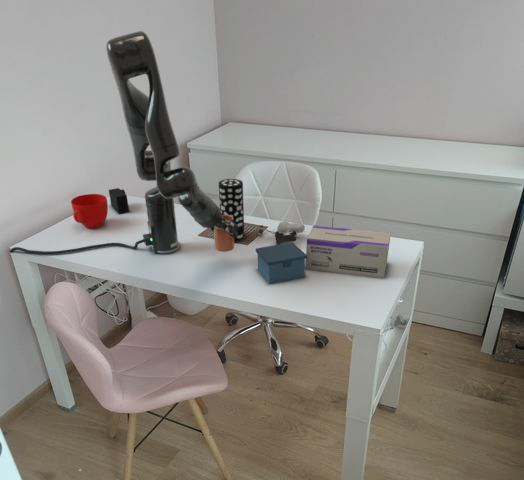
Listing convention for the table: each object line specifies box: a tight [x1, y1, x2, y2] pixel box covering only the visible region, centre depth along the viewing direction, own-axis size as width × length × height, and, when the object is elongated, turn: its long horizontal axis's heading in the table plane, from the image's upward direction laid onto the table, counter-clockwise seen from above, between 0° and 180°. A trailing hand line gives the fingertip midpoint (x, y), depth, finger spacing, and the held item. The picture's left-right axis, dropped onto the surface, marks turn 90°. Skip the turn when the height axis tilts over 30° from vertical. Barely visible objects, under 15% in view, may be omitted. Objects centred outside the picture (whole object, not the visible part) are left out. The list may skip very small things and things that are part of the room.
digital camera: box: [108, 187, 130, 215], centre depth 219 cm, size 10×5×7 cm, turn 30°
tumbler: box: [213, 215, 235, 253], centre depth 173 cm, size 6×6×10 cm
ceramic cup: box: [70, 193, 109, 229], centre depth 203 cm, size 13×17×10 cm
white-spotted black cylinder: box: [218, 178, 245, 243], centre depth 191 cm, size 8×8×20 cm
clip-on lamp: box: [255, 220, 306, 245], centre depth 194 cm, size 12×6×18 cm
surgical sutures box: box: [305, 225, 391, 279], centre depth 173 cm, size 25×11×11 cm, turn 74°
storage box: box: [254, 242, 307, 284], centre depth 171 cm, size 13×11×8 cm
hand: (226, 233), depth 175 cm, fingers closed on tumbler, 6 cm apart
